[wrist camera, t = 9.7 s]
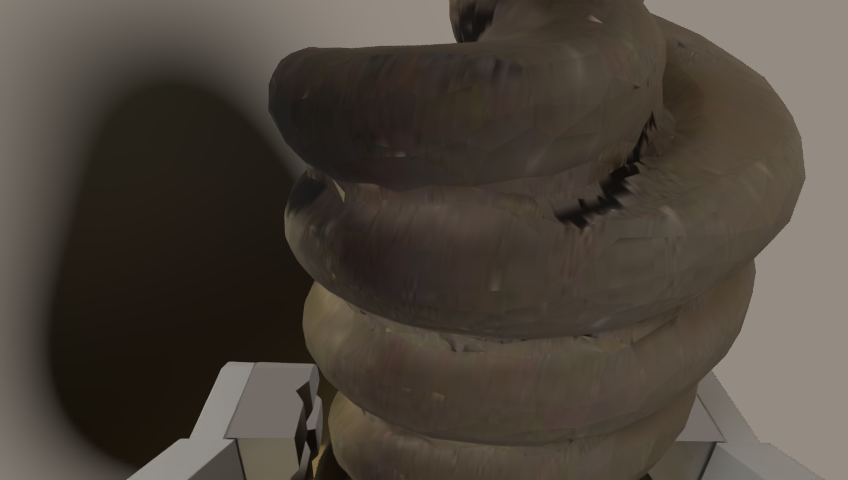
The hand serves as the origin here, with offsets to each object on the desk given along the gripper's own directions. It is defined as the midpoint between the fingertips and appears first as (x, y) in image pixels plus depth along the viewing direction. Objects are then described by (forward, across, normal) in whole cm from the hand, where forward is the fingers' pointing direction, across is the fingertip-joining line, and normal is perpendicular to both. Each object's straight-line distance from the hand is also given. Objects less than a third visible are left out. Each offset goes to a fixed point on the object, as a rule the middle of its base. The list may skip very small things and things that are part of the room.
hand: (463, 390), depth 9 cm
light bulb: (-1, 0, +8) cm, 8 cm away
